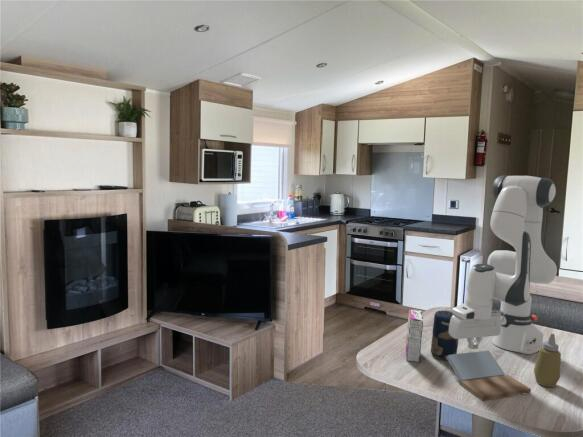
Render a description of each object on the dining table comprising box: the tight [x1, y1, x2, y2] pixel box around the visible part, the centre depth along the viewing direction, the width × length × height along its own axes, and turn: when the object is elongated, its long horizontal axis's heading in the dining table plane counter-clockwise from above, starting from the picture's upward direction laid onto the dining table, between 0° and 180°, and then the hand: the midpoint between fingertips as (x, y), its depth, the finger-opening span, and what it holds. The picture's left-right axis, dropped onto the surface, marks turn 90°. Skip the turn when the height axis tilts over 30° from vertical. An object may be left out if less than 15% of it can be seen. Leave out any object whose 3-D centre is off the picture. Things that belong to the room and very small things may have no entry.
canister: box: [430, 310, 459, 361], centre depth 180 cm, size 10×10×18 cm
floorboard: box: [460, 374, 532, 401], centre depth 157 cm, size 20×10×2 cm, turn 110°
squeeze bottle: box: [533, 333, 562, 388], centre depth 162 cm, size 8×8×18 cm
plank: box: [446, 350, 506, 382], centre depth 166 cm, size 18×10×2 cm
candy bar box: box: [405, 309, 424, 363], centre depth 179 cm, size 11×5×16 cm, turn 168°
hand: (473, 348), depth 167 cm, fingers closed
